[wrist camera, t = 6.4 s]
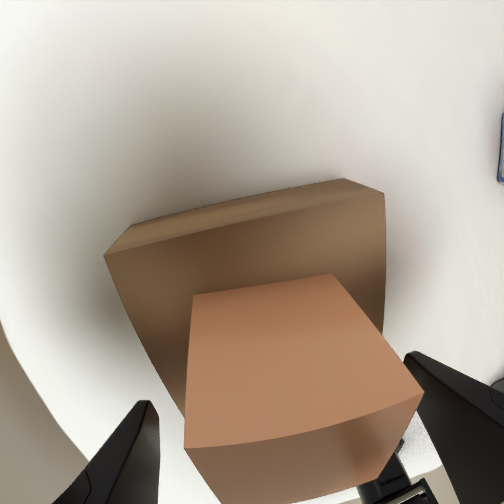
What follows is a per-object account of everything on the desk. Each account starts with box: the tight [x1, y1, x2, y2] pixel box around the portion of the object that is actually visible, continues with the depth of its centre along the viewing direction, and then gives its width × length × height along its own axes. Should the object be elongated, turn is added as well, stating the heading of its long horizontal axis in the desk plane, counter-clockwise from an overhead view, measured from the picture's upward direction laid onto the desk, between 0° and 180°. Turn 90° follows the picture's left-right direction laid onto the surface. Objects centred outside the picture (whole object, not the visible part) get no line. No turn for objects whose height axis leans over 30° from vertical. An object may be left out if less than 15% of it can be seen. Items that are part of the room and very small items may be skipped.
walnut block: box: [103, 178, 386, 418], centre depth 13 cm, size 10×10×4 cm
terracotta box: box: [184, 273, 424, 504], centre depth 8 cm, size 5×5×6 cm
